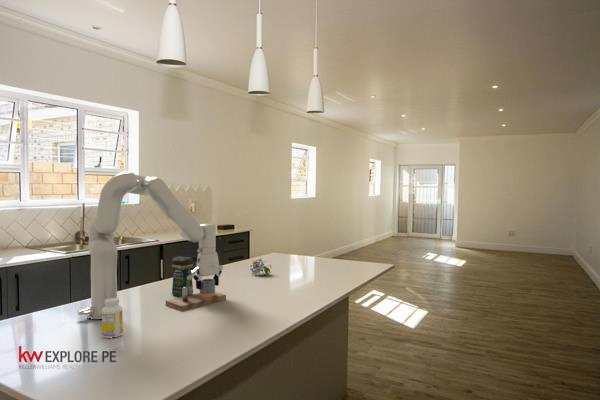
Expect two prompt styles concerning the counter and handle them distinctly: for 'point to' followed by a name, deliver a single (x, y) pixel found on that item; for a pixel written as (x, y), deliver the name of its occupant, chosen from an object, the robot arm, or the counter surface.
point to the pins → (185, 294)
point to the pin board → (194, 301)
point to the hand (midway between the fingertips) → (207, 287)
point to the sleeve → (207, 288)
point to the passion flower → (259, 267)
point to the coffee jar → (182, 275)
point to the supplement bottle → (112, 318)
